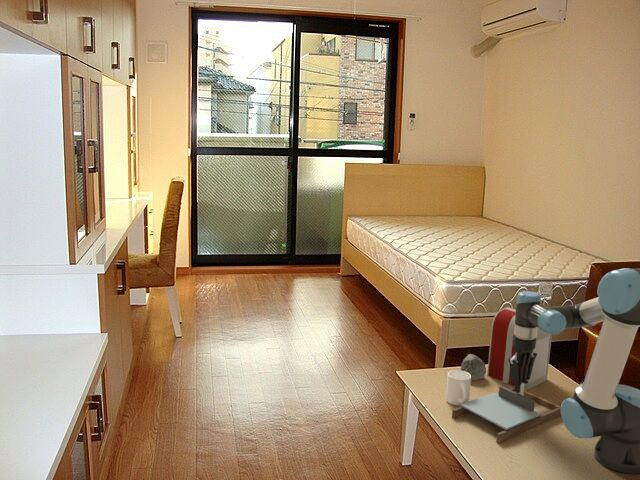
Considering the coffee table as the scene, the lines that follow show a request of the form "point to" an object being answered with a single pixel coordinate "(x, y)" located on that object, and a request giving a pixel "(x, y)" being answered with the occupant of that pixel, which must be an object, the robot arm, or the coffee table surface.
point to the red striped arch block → (504, 349)
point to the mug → (458, 387)
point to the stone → (474, 367)
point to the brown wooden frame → (540, 406)
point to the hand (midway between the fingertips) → (518, 399)
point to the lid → (503, 408)
